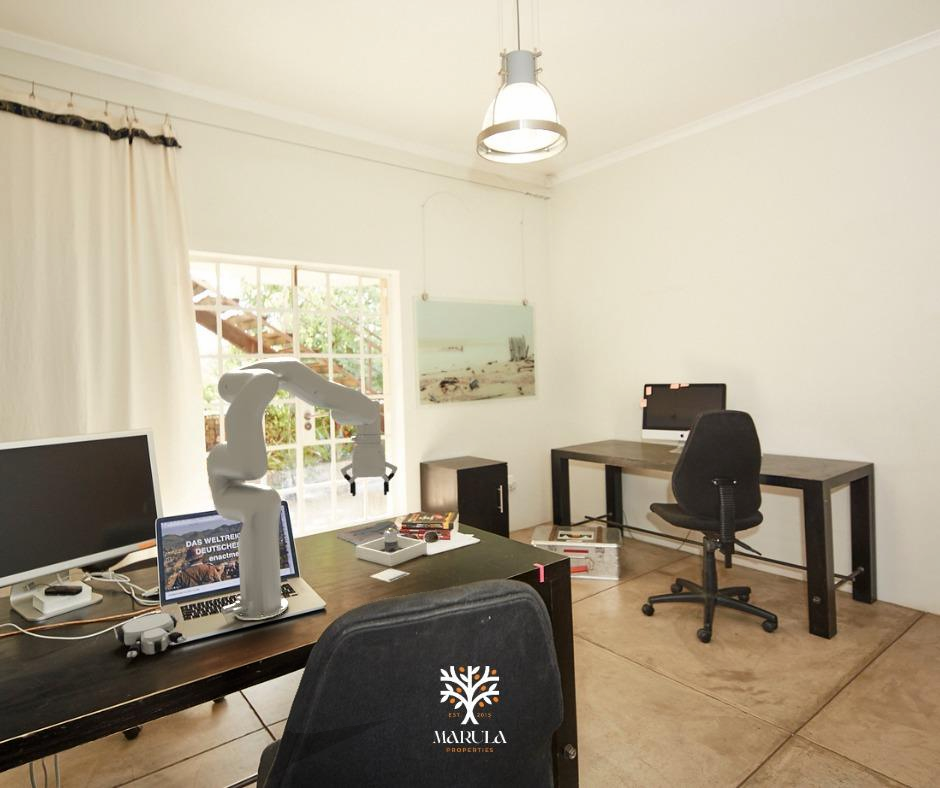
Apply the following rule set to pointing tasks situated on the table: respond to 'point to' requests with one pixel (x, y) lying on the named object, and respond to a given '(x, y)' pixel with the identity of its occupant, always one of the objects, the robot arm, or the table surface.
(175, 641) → the robot toy
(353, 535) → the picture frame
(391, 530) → the clear bottle
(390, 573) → the plate
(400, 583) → the table surface
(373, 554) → the tub
